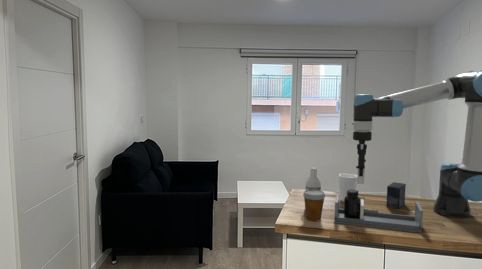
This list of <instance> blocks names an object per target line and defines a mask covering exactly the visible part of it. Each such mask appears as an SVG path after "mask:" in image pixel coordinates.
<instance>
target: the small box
mask: <svg viewBox="0 0 482 269" xmlns="http://www.w3.org/2000/svg"><path fill="white" fill-rule="evenodd" d="M406 185H407V184H406V183H402V182H392V183H390V184H389V185H387V187H386V189H387V190H386V207H387V208H390V209H396V210H400V209H401V208H402V207H403V206H404V205H405V204H406Z"/></svg>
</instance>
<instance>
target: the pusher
mask: <svg viewBox="0 0 482 269" xmlns="http://www.w3.org/2000/svg"><path fill="white" fill-rule="evenodd" d="M360 199H361V206H360V219H363V212H371V213H379V210H377V209H367V208H365V203H364V202H365V200H364V199H362V198H360Z"/></svg>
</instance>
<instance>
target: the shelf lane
mask: <svg viewBox="0 0 482 269" xmlns="http://www.w3.org/2000/svg"><path fill="white" fill-rule="evenodd" d="M340 200H341V198H340V194H336V197H335V201H334V218H333V220H334V221H333V222H334V224H341V225H349V226H350V225H351V226H357V227H358V226H360V227H369V228H375V229H376V228H378V229H386V230H396V231H404V232H412V233H421V234H422V233H423V218H424V210H423V208H422V206H421V204H420V202H419V201H415V202H414V203H415V204H414V215H407V214H405V215H404V214H399V213H397V214H395V213H387V212H386V213H385V212H378V213H371V212H363V219H360V218H359V219H353V218H345V217H344V208H340Z"/></svg>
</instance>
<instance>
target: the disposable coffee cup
mask: <svg viewBox="0 0 482 269" xmlns="http://www.w3.org/2000/svg"><path fill="white" fill-rule="evenodd" d="M302 196H303V200H304V209H305V219H306V220H307V221H311V222H319V221H321V219H322V214H323V209H324V208H323V207H324V203H325V198H326V195H325V192H324V191H323V190H321V191H320V190H306V189H305V190H304V192H303V194H302Z"/></svg>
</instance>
